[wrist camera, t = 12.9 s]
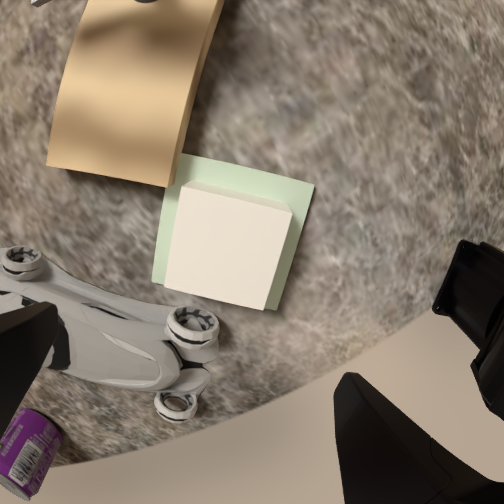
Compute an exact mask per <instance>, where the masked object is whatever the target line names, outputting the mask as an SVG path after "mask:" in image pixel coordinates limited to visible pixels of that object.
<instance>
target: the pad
mask: <svg viewBox="0 0 504 504" xmlns="http://www.w3.org/2000/svg"><path fill="white" fill-rule="evenodd" d="M192 180H195V181H199V182H204V183H208V184H212V185H217V186H221V187H225V188H229V189H233V190H238V191H242V192H246V193H250V194H254V195H258V196H262V197H266V198H269V199H273V200H277V201H281V202H285V203H287V204H288V206H289V208H290V209H291V211H292V213H293V214H292V218H291V221H290V224H289V228H288V231H287V235H286V238H285V241H284V245H283V248H282V251H281V255H280V258H279V261H278V264H277V268H276V271H275V274H274V277H273V281H272V284H271V287H270V290H269V294H268V297H267V300H266V303H265V306H264V308H266V309H271V310H276V311H277V308H278V305H279V302H280V298H281V295H282V292H283V289H284V286H285V283H286V280H287V277H288V273H289V270H290V267H291V264H292V260H293V257H294V254H295V251H296V247H297V244H298V241H299V237H300V234H301V231H302V227H303V224H304V221H305V217H306V214H307V210H308V207H309V203H310V200H311V196H312V193H313V189H314V186H315V185H314V184H311V183H307V182H304V181H300V180H296V179H292V178H289V177H285V176H281V175H277V174H273V173H269V172H266V171H261V170H257V169H253V168H249V167H245V166H241V165H236V164H232V163H228V162H223V161H219V160H214V159H209V158H204V157H200V156H195V155H190V154H185V153H180V157H179V162H178V167H177V172H176V177H175V182H174V184H173V185H172V186H170V187H168V188H165V194H164V199H163V205H162V211H161V217H160V223H159V230H158V236H157V243H156V250H155V258H154V266H153V274H152V282H154V283H158V284H162V285H164V284H165V277H166V270H167V264H168V257H169V251H170V245H171V239H172V234H173V228H174V223H175V217H176V212H177V207H178V202H179V197H180V192H181V187H182V186H183V185H185V184H186V183H188V182H190V181H192Z"/></svg>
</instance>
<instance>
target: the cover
mask: <svg viewBox="0 0 504 504" xmlns="http://www.w3.org/2000/svg"><path fill="white" fill-rule="evenodd" d="M292 214H293V213H292V211H291V209H290V208H289V206H288V204H287V203H285V202H281V201H277V200H273V199H269V198H266V197H262V196H258V195H254V194H250V193H246V192H242V191H238V190H233V189H229V188H225V187H221V186H217V185H212V184H208V183H204V182H199V181H195V180H192V181H190V182H188V183H186V184H185V185H183V186H182V187H181V192H180V197H179V202H178V207H177V212H176V217H175V223H174V228H173V234H172V239H171V245H170V251H169V257H168V264H167V270H166V277H165V284H164V287H166V288H170V289H174V290H178V291H182V292H186V293H190V294H194V295H198V296H202V297H206V298H210V299H214V300H218V301H223V302H227V303H231V304H236V305H240V306H245V307H249V308H254V309H258V310H264V306H265V303H266V300H267V297H268V294H269V290H270V287H271V284H272V281H273V277H274V274H275V271H276V268H277V264H278V261H279V258H280V255H281V251H282V248H283V245H284V241H285V238H286V235H287V231H288V228H289V224H290V221H291V218H292Z"/></svg>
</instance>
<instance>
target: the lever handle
mask: <svg viewBox="0 0 504 504" xmlns="http://www.w3.org/2000/svg"><path fill="white" fill-rule="evenodd" d="M49 1H51V0H31V4H32V5H34V6H36V7H39V6H41V5H43V4H45V3H47V2H49Z"/></svg>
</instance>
